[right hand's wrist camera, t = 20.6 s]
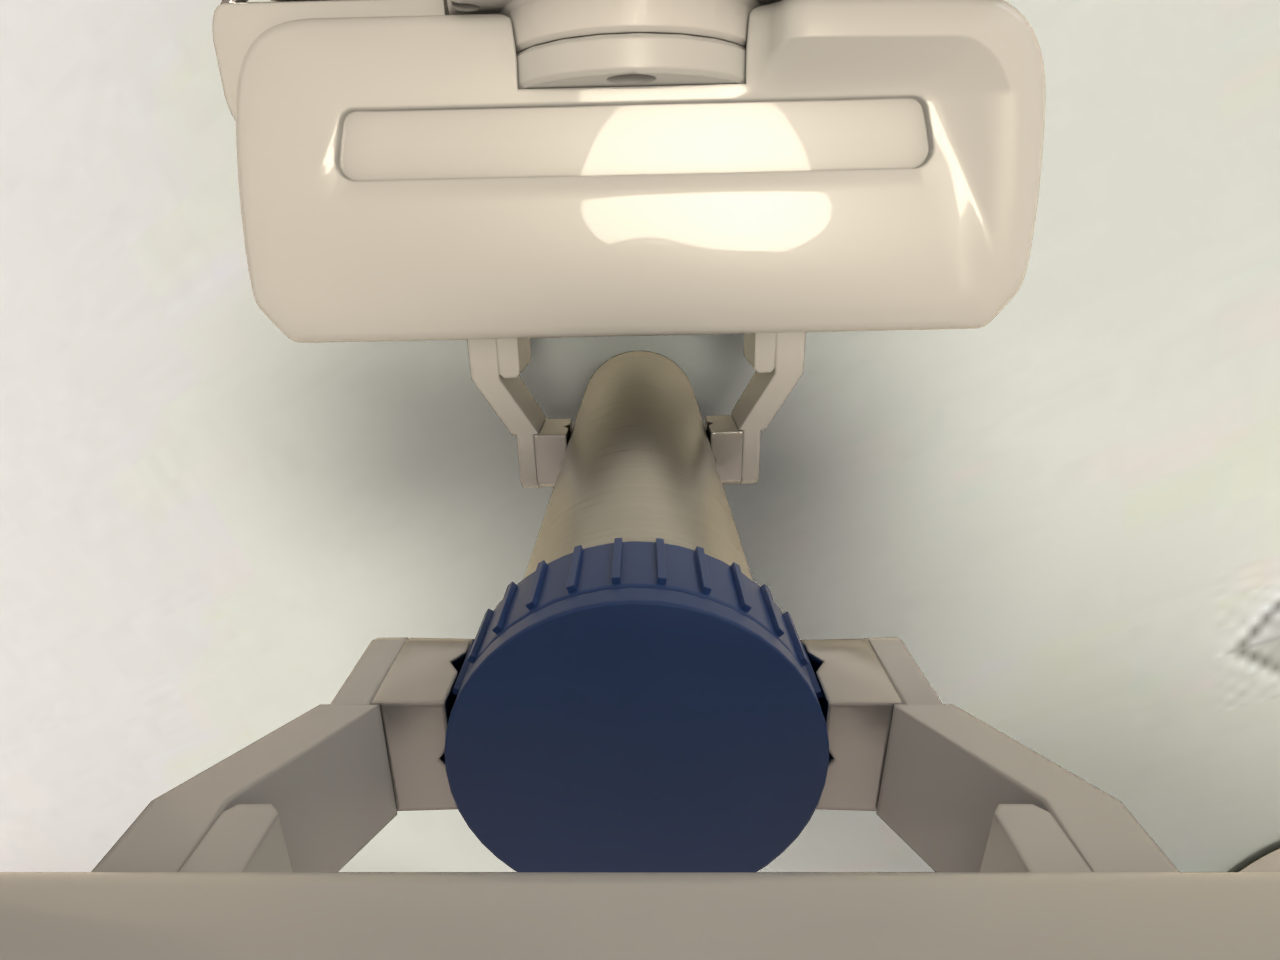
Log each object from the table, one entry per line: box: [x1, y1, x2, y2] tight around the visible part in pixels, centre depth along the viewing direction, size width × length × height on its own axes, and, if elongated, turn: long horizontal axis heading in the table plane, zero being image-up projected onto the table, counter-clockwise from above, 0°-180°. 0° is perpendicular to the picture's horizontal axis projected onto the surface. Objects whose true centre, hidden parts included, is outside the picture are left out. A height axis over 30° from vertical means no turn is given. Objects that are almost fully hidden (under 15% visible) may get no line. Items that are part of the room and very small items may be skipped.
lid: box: [444, 538, 829, 872], centre depth 10 cm, size 5×5×2 cm
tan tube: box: [524, 351, 753, 581], centre depth 18 cm, size 4×4×18 cm
